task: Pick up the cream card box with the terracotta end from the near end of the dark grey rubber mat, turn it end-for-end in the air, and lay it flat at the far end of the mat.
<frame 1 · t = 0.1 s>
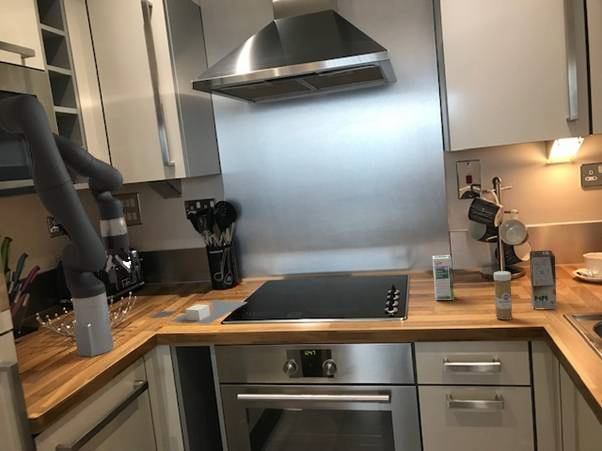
hand: (123, 282, 161), 17 cm above the worktop, tool pointing down, fingers open, 8 cm apart
syrup box: (444, 299, 170), on the worktop
smartphone: (159, 320, 178), on the worktop
mat: (211, 312, 180), on the worktop
coffee box: (543, 306, 153), on the worktop
sprinkles bottle: (504, 318, 146), on the worktop
card box: (200, 316, 174), point 1 cm above the worktop, touching mat
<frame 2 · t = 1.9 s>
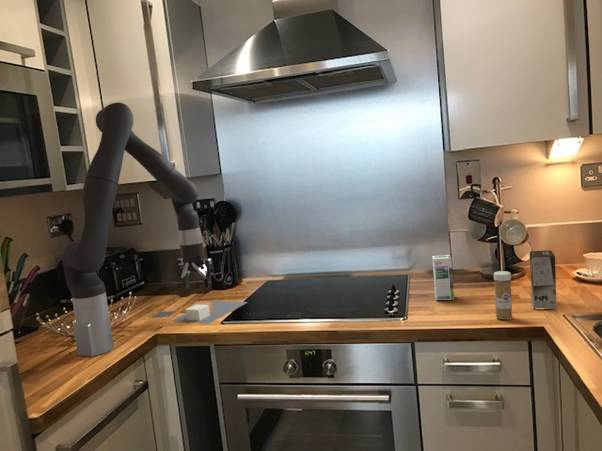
hand: (197, 288, 173), 10 cm above the worktop, tool pointing down, fingers open, 8 cm apart
nothing on the worktop moved.
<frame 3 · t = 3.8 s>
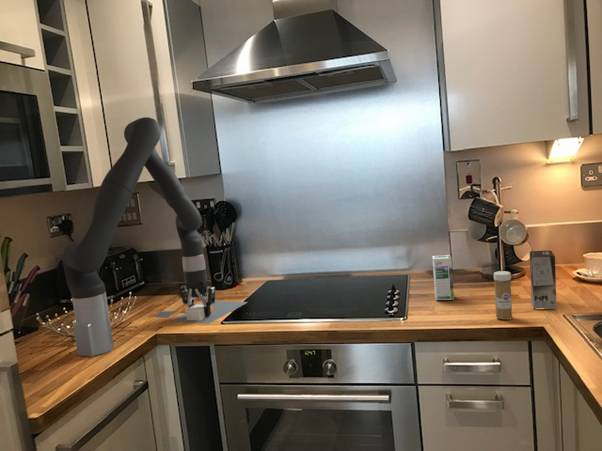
hand: (200, 315, 174), 1 cm above the worktop, tool pointing down, fingers closed on card box, 5 cm apart
card box: (200, 316, 174), point 1 cm above the worktop, touching gripper, mat
everything else where it was.
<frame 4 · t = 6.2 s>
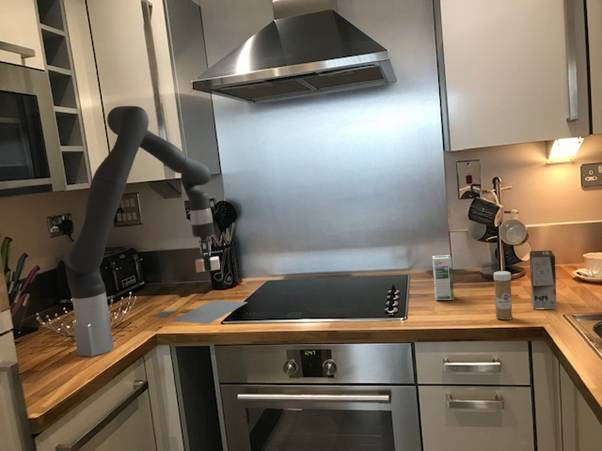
hand: (208, 268, 181), 15 cm above the worktop, tool pointing down, fingers closed on card box, 5 cm apart
card box: (208, 269, 181), point 15 cm above the worktop, touching gripper
everything else where it was.
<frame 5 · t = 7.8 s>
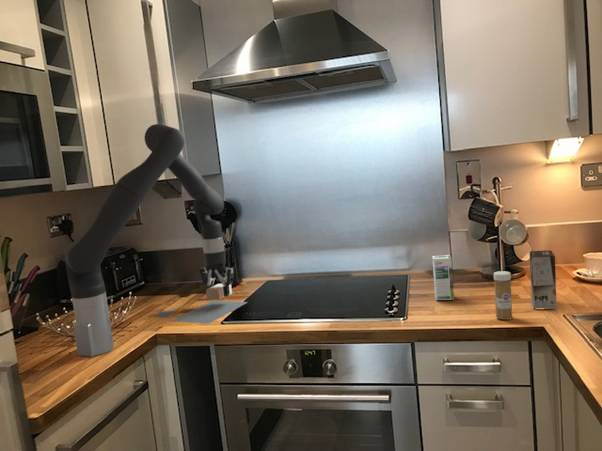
hand: (219, 295, 184), 4 cm above the worktop, tool pointing down, fingers closed on card box, 5 cm apart
card box: (219, 296, 184), point 4 cm above the worktop, touching gripper
everything else where it was.
when the fingers open (2 cm above the worktop, at t = 8.8 s): card box stays where it is, resting on mat.
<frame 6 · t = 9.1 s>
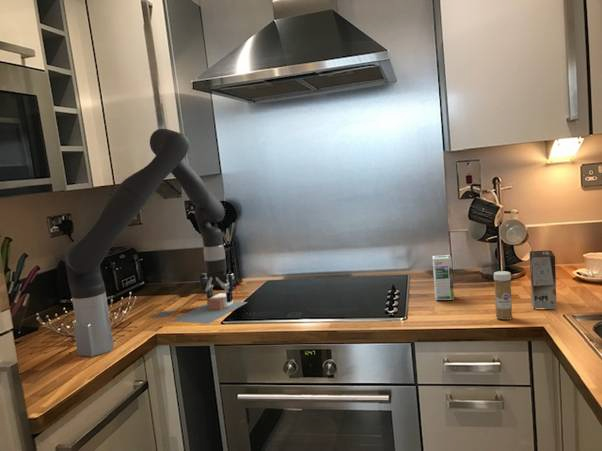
hand: (220, 301, 185), 2 cm above the worktop, tool pointing down, fingers open, 8 cm apart
card box: (220, 306, 185), point 1 cm above the worktop, touching mat
everything else where it was.
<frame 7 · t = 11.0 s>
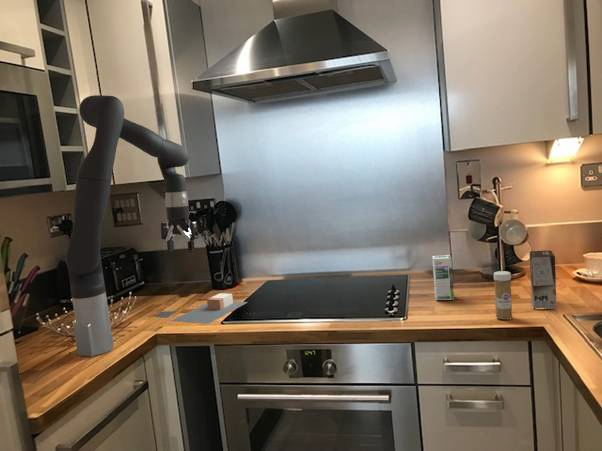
hand: (181, 251, 176), 23 cm above the worktop, tool pointing down, fingers open, 8 cm apart
nothing on the worktop moved.
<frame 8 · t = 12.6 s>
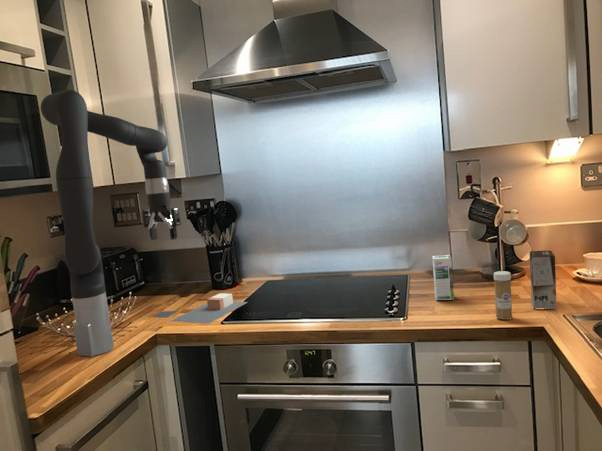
hand: (164, 239, 172), 28 cm above the worktop, tool pointing down, fingers open, 8 cm apart
nothing on the worktop moved.
at the end: card box inside the target area (0.1 cm from its centre), point 0.5 cm above the worktop; card box tilted 0°; the gripper is holding nothing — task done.
